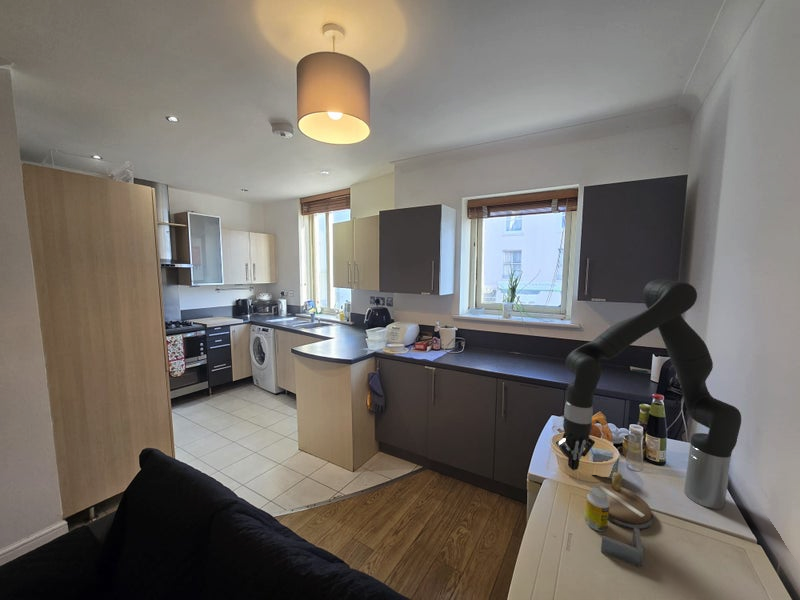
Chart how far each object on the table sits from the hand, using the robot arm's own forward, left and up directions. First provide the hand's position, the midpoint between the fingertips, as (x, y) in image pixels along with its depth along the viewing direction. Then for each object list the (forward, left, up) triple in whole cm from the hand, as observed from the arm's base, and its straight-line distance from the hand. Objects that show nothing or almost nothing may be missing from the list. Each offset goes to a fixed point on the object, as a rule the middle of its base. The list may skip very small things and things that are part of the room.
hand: (573, 468), depth 100 cm
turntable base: (-12, +7, -11) cm, 18 cm away
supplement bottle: (0, +10, -11) cm, 15 cm away
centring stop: (0, +21, -11) cm, 23 cm away
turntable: (-12, +7, -10) cm, 17 cm away
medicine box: (-20, -7, -11) cm, 24 cm away
